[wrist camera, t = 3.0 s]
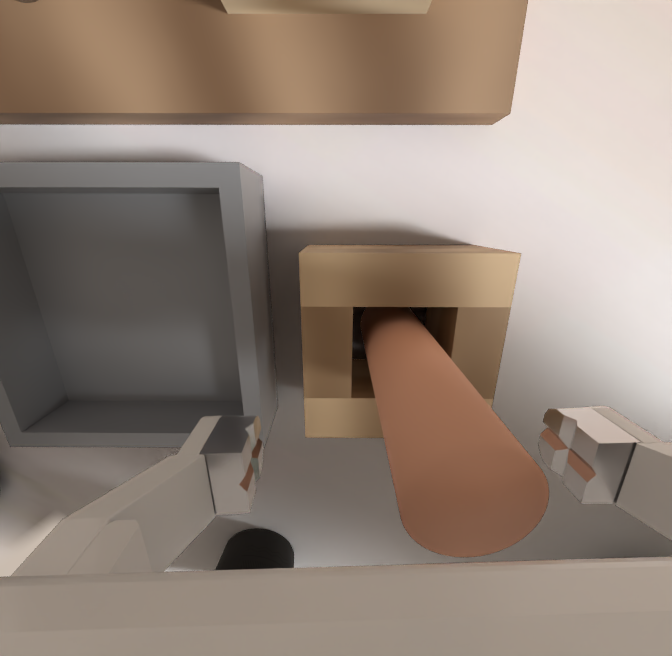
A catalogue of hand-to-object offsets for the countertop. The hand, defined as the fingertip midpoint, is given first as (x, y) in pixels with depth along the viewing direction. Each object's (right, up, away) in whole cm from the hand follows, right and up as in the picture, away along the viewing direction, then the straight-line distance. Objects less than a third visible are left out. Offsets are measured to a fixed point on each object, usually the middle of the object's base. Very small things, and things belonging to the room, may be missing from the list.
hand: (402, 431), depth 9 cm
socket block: (+1, +3, +7) cm, 8 cm away
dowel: (+1, +3, +7) cm, 8 cm away
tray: (-11, +4, +7) cm, 14 cm away
